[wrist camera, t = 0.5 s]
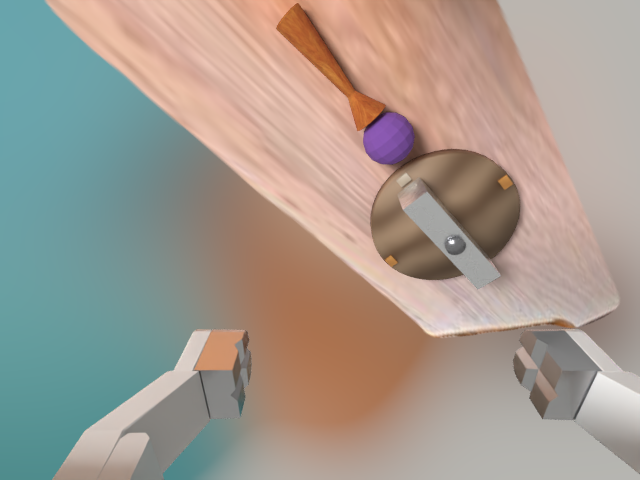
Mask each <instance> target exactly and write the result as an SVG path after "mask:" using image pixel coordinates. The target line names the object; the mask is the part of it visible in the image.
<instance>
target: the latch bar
mask: <svg viewBox="0 0 640 480" xmlns="http://www.w3.org/2000/svg"><path fill="white" fill-rule="evenodd" d="M397 195H398V198H399V201H400V204H401V206H402V209H403V211H404V212H405V213H406V214H407V215H408V216H409V217H410V218H411V219H412V220H413V221H414V222H415V223H416V224H417V226H418V227H419V228H420V229H421V230H422V231H423V232H424V233H425V234H426V235H427V236H428V237H429V238H430V239H431V240H432V241H433V242H434V244H435V245H436V246H437V247H438V248H439V249H440V250H441V251H442V252H443V253H444V254H445V255H446V256H447V257H448V258H449V259H450V260H451V262H452V263H453V264H454V265H455V266H456V267H457V268H458V269H459V270H460V271H461V272H462V273H463V274H464V275H465V276H466V277H467V278H468V280H469V281H470V282H471V283H472V284H473V285H474V286H475V287H476V288H477V289H480V288H481V287H483V286H485V285H486V284H488V283H490V282H492V281H493V280H495V279H497V278H499V277H500V276H501V275H500V273H499V272H498V270H497V269H496V267H495V265H494V264H493V262H492V261H491V259H490V258H489V256H488V255H487V254H486V253H485V252H484V251H483V249H482V248H481V247H480V246H479V245H478V244H477V243H476V241H475V240H474V239H473V238H472V237H471V236H470V235H469V233H468V232H467V231H466V230H465V229H464V228H463V226H462V225H461V224H460V223H459V222H458V221H457V220H456V218H455V217H454V216H453V215H452V214H451V213H450V212H449V210H448V209H447V208H446V207H445V206H444V205H443V203H442V202H441V201H440V200H439V199H438V198H437V197H436V195H435V194H434V193H433V192H432V191H431V190H430V189H429V187H428V186H427V185H426V184H425V183H424V182H423V180H422V179H421V178H420V177H418V178H417V179H416V180H415V181H413V182H412V183H411V184H409V185H408V186H407V187H406V188H404V189H403V190H402V191H400V192H399V193H398V194H397Z"/></svg>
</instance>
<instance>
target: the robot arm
mask: <svg viewBox="0 0 640 480" xmlns="http://www.w3.org/2000/svg"><path fill="white" fill-rule="evenodd" d="M519 341H520V343H521V344H522V347H521V348H520V349H518V350H517V351H516V352H515V356H514V359H513V365H514V372H515V374H516V377H517V379H518V381H519V382H520V384H521V385H522V386H523V387H525V388H526V389H528V390H529V391H531V392H530V400H531V401H532V403H533V405H534V406H535V408H536V410H537V411H538V413H539V414H540V416H541V417H542V419H555V420H557V419H558V420H575V422H576V423H577V424H578V425H579V426H581V427H582V428H583V429H584V430H585V431H587V432H588V433H589V434H590V435H592V436H593V437H594V438H595V439H596V440H598V441H599V442H600V443H602V444H603V445H604V446H605V447H607V448H608V449H609V450H610V451H611V452H613V453H614V454H615V455H617V456H618V457H619V458H620V459H621V460H623V461H624V462H625V463H626V464H628V465H629V466H630V467H631V468H633V469H634V470H635V471H636V472H638V473H639V474H640V377H639V376H637V375H635V374H633V373H631V372H624V371H623V370H622V369H621V368H620V367H619V366H618V365H617V364H616V363H615V362H614V361H613V360H611V358H610V357H609V356H608V355H607V354H606V353H605V352H604V351H603V350H602V349H601V348H600V347H599V346H598V345H597V344H596V343H595V342H594V341H593V340H592V339H591V338H590V337H589V336H588V335H587V334H586V333H585V332H583V331H581V330H579V329H560V330H524V332H522V334H521V336H520V339H519ZM248 343H249V337H248V332H247V331H246V330H223V329H222V330H221V329H213V330H207V329H197V330H195V331H194V332H193V334H192V335H191V338H190V339H189V341H188V343H187V346H186V347H185V349H184V351H183V354H182V355H181V357H180V359H179V361H178V363H177V365H176V367H175V369H174V371H168V372H166V373H165V374H163V375H162V376H161V377H159V378H158V379H156V380H155V381H154V382H152V383H151V384H150V385H148V386H147V387H145V388H144V389H143V390H142V391H140V392H138V393H137V394H136V395H134V396H133V397H132V398H130V399H129V400H127V401H126V402H124V403H123V404H122V405H120V406H119V407H118V408H116V409H115V410H113V411H112V412H110V413H109V414H108V415H106V416H105V417H104V418H102V419H101V420H99V421H98V422H97V423H95V424H94V425H92V426H91V427H90V428H88V429H87V430H86V431H85V432H84V433H83V434H82V436H81V437H80V439H79V440H78V442H77V443H76V445H75V447H74V448H73V449H72V451H71V452H70V454H69V455H68V457H67V459H66V460H65V461H64V463H63V464H62V466H61V467H60V469H59V470H58V472H57V473H56V475H55V476H54V478H53V479H52V480H164V478H163V475H162V474H163V473H164V471H165V470H166V469H167V468H168V467H169V466H170V464H172V462H173V461H174V460H175V459H176V458H177V457H178V456H179V455H180V453H181V452H182V451H183V450H184V449H185V448H186V447H187V446H188V445H189V444H190V442H191V441H192V440H193V439H194V438H195V437H196V436H197V434H198V433H199V432H200V431H201V430H202V429H203V428H204V427H205V426H206V425H207V423H208V422H209V421H210V419H222V418H240V417H241V413H242V409H243V405H244V401H245V391H244V388H245V387H246V386H247V385H248V384H249V380H250V376H251V365H252V363H251V352H250V351H249V350H248V349H247V346H248Z"/></svg>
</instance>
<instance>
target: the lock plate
mask: <svg viewBox="0 0 640 480" xmlns="http://www.w3.org/2000/svg"><path fill="white" fill-rule="evenodd" d="M418 177H420V178H421V179H422V180H423V182H424V183H425V184H426V185H427V186H428V187H429V189H430V190H431V191H432V192H433V193H434V194H435V195H436V197H437V198H438V199H439V200H440V201H441V202H442V203H443V205H444V206H445V207H446V208H447V209H448V210H449V212H450V213H451V214H452V215H453V216H454V217H455V218H456V220H457V221H458V222H459V223H460V224H461V225H462V226H463V228H464V229H465V230H466V231H467V232H468V233H469V235H470V236H471V237H472V238H473V239H474V240H475V241H476V243H477V244H478V245H479V246H480V247H481V248H482V249H483V251H484V252H485V253H486V254H487V255H488V256H489V258H490V259H492V258H493V257H495V256H496V255H497V254H498V253H499V252H500V251H501V250H502V249H503V247H504V246H505V245H506V244H507V242H508V241H509V239H510V238H511V236H512V234H513V232H514V230H515V228H516V225H517V222H518V218H519V212H520V201H519V195H518V191H517V189H516V186H515V184H514V182H513V181H512V179H511V178H510V176H509V175H508V174H507V173H506V172H505V171H504V170H503V169H502V168H501V167H500V166H499V165H497V164H496V163H495V162H494V161H492V160H491V159H489V158H487V157H486V156H484V155H481V154H479V153H476V152H472V151H468V150H459V149H448V150H440V151H434V152H431V153H427V154H424V155H422V156H419V157H417V158H415V159H413V160H411V161H409V162H408V163H406V164H404V165H403V166H402V167H400V168H399V169H397V170H396V171H395V172H394V173H393V174H392V175H391V176H390V177H389V178H388V179H387V180H386V182H385V183H384V184H383V186H382V187H381V189H380V190H379V192H378V194H377V196H376V198H375V200H374V203H373V206H372V211H371V222H370V224H371V231H372V237H373V241H374V244H375V247H376V249H377V251H378V253H379V254H380V256H381V257H382V258H383V260H384V261H385V262H386V263H387V264H388V265H390V266H391V267H392V268H393V269H395V270H397V271H398V272H400V273H403V274H405V275H407V276H410V277H414V278H419V279H426V280H441V279H448V278H453V277H457V276H460V275H464V274H463V273H462V272H461V271H460V270H459V269H458V268H457V267H456V266H455V265H454V264H453V263H452V262H451V260H450V259H449V258H448V257H447V256H446V255H445V254H444V253H443V252H442V251H441V250H440V249H439V248H438V247H437V246H436V245H435V244H434V242H433V241H432V240H431V239H430V238H429V237H428V236H427V235H426V234H425V233H424V232H423V231H422V230H421V229H420V228H419V227H418V226H417V224H416V223H415V222H414V221H413V220H412V219H411V218H410V217H409V216H408V215H407V214H406V213H405V212H404V211H403V209H402V206H401V204H400V201H399V198H398V195H397V194H398V193H399V192H400V191H402V190H403V189H404V188H406V187H407V186H408V185H409V184H411V183H412V182H413V181H415V180H416V179H417V178H418Z"/></svg>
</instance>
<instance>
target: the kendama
mask: <svg viewBox="0 0 640 480" xmlns="http://www.w3.org/2000/svg"><path fill="white" fill-rule="evenodd" d="M276 29H277V30H278V31H279V32H280V33H281V34H282V35H283V36H284V37H285V38H286V39H287V40H288V41H289V42H290V43H291V44H293V45H294V46H295V47H296V48H297V49H298V50H299V51H300V52H301V53H302V54H303V55H304V56H305V57H306V58H307V59H308V60H309V61H310V62H311V63H312V64H313V65H314V66H315V67H316V68H318V69H319V70H320V71H321V72H322V73H323V74H324V75H325V76H326V77H327V78H328V79H329V80H330V81H331V82H332V83H333V84H334V85H335V86H336V87H337V88H338V89H339V90H340V91H341V92H343V93H344V94H345V95H346V96H347V97H348V100H349V103H350V107H351V110H352V114H353V117H354V121H355V124H356V128H357V131H360V130H361V129H363V128H364V127H366V126H367V127H366V129H365V131H364V138H363V144H364V147H365V150H366V153H367V154H368V155H369V156H370V158H371V159H372V160H374V161H376V162H378V163H380V164H395V163H397V162H399V161H401V160H403V159H404V158H406V156H407V155H408V154H409V152H410V151H411V150H412V147H413V143H414V138H415V136H414V131H413V127H412V126H411V124H410V123H409V122H408V120H407V119H406V118H405V117H404V116H402V115H400V114H398V113H392V112H385V113H383V114H380V113H381V112H382V111H383V109H384V108H385V106H386V105H385V104H383V103H381V102H378V101H376V100H374V99H372V98H370V97H368V96H365V95H363V94H361V93H359V92H357V91H355V90H354V88H353V87H352V85H351V83H350V82H349V80H348V79H347V77H346V76H345V74H344V73H343V71H342V70H341V68H340V66H339V65H338V63H337V62H336V60H335V59H334V57H333V56H332V54H331V53H330V51H329V49H328V48H327V46H326V45H325V43H324V42H323V40H322V39H321V37H320V36H319V34H318V32H317V31H316V29H315V28H314V26H313V25H312V23H311V22H310V20H309V19H308V17H307V15H306V14H305V12H304V11H303V9H302V8H301V6H300V5H299V3H297V4H295V5H294V6H293V7H292V8H291V9H290V10H289V11H288V12H287V13H286V14H285V15H284V17H283V18H282V19H281V21H280V22H279V24H278V25H277V28H276ZM379 114H380V115H379Z"/></svg>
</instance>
